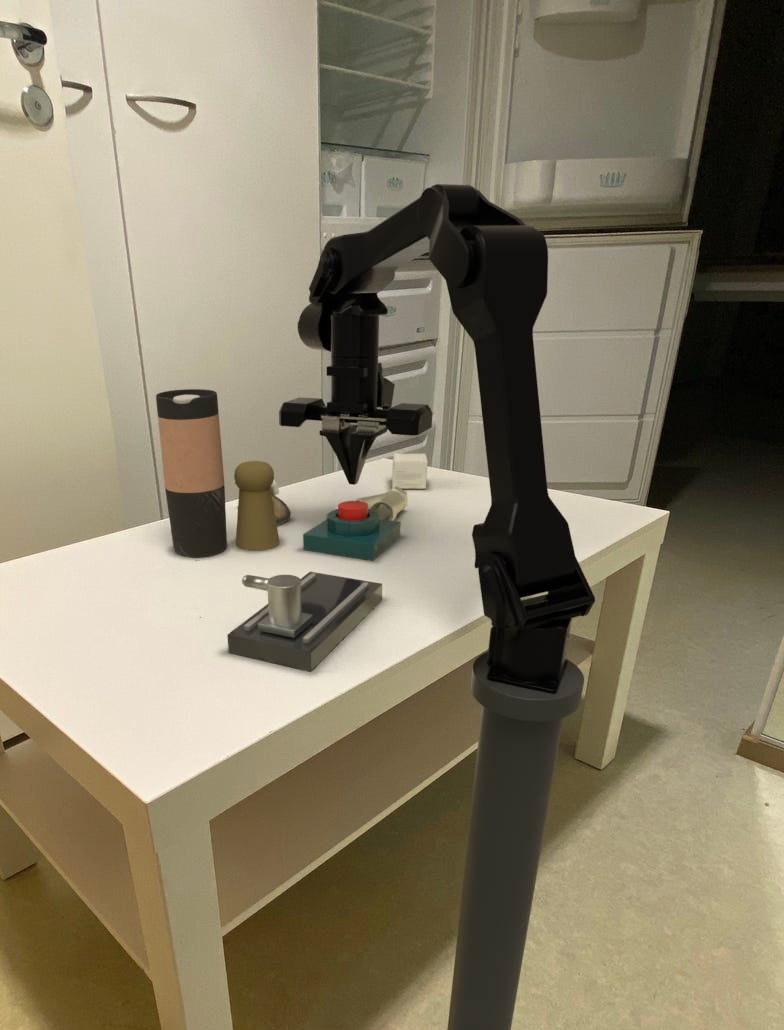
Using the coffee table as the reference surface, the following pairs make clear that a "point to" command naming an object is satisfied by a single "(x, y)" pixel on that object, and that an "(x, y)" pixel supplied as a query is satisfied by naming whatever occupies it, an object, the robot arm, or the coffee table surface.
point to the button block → (352, 536)
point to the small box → (409, 471)
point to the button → (353, 510)
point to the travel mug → (193, 470)
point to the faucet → (281, 604)
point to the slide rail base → (333, 619)
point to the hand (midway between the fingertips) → (353, 483)
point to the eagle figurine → (278, 505)
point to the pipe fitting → (387, 503)
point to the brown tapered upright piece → (255, 507)
